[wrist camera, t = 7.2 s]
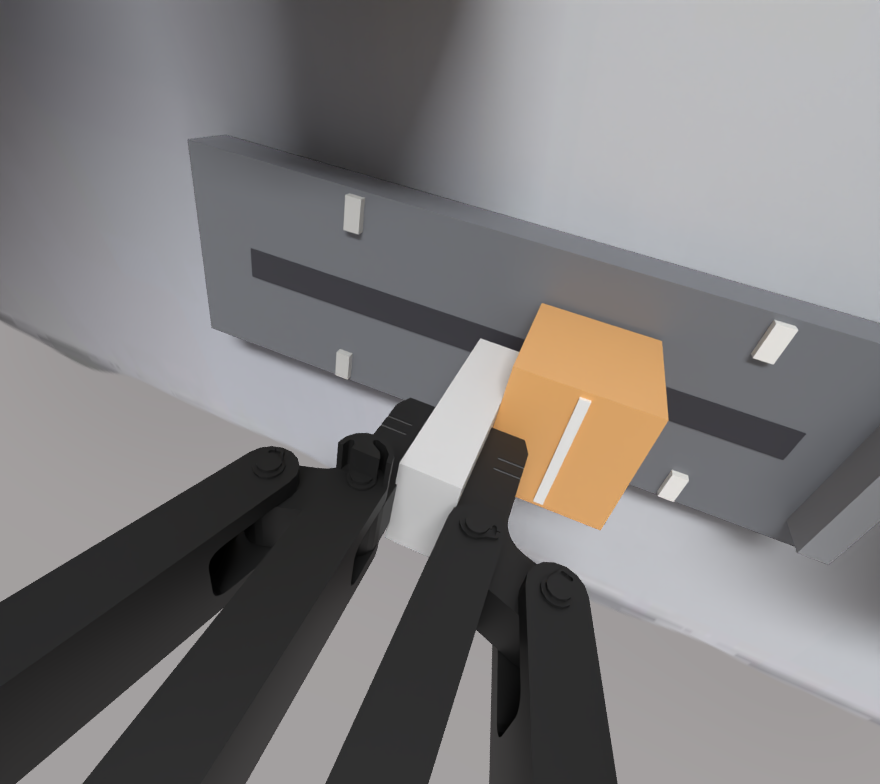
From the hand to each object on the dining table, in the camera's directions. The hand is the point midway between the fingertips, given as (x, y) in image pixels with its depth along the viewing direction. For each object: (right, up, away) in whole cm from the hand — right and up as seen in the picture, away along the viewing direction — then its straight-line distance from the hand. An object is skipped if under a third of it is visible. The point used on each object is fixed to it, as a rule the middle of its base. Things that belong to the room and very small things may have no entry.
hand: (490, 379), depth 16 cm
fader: (+3, 0, +1) cm, 3 cm away
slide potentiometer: (+1, +2, +3) cm, 4 cm away
